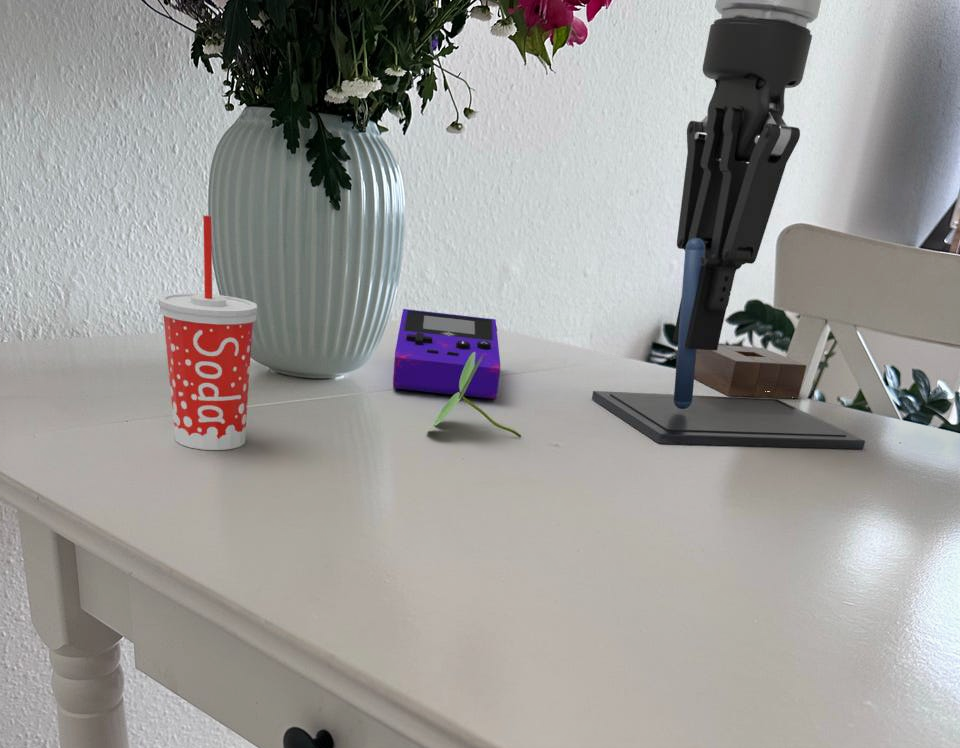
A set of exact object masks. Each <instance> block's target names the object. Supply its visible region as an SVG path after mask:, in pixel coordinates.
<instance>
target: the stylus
mask: <svg viewBox="0 0 960 748" xmlns="http://www.w3.org/2000/svg"><path fill="white" fill-rule="evenodd" d="M701 258H705V243H704V241H703V240H702V239H700V238H693V239H691V240H689V241H688V243H687V244H686V248H685V250H684V262H683V275H682V285H681V286H682V287H681V297H682V299H681V298H680V302H681V311H680V324H679V337H678V343H677V352H676V365H675V378H674V389H673V395H674V404H675V406H676V407H677V408H679V409H686V408H688V407H689V406H690V405H691V403H692V397H693V395H694V385H695V379H694V374H695V363H696V351H697V349H689V348H686V347H685V343H686V338H687V333H688V328H689V324H690V319H691V314H692V310H693V305H694V301H695V296H696V291H697V286H698V281H699V276H700V271H701V266H702V264H701Z"/></svg>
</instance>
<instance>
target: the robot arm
mask: <svg viewBox="0 0 960 748" xmlns="http://www.w3.org/2000/svg"><path fill="white" fill-rule="evenodd" d="M821 4H822V0H715V4H714V5H715V6H714V8H715V9H716V12H717V13H718V14H719V15H721V18H718V19H715V20H714V21H713V23H712V24H710V27H709V32H708V37H707V43H706V47H705V52H704V58H703V62H702V63H703V64H702V73H703V76H704V77H706V78H708V79H710V80H714V82H715V87H714V89H713V93H712V96H711V98H710V100H709V103H708V105H707V107H708V108H707V115H706V116H705V117H704V118H703V119H702V120H701V121H697V120H690V121H689V122H688V124H687V128H686V147H687V155H686V163H685V172H684V179H683V188H682V195H681V205H680V212H679V219H678V220H679V221H678V228H677V229H678V230H677V237H676V247H677V249H680V250H684V251H685V248H686V244H687V243H688V241H689V240H691V239H693V238H700V239H702V240H703V241H704V243H705V258H701V264H702V266H701V271H700V276H699V281H698V286H697V291H696V296H695V301H694V305H693V310H692V314H691V319H690V324H689V328H688V333H687V338H686V343H685V347H686V348H689V349H702V350H717V349H718V345H720V340H721V339H720V338H721V336H722V335H721V334H722V330H723V325H724V321H725V316H726V312H727V308H728V305H729V303H730V297H731V294H732V293H731V292H732V290H733V284H734V280H735V277H736V276H735V275H736V272H737V270H739V269H740V268H742V266H743V265H746V264H751V265H752V264H754V263H755V262H756V260H757V257H758V255H759V251H760V248H761V245H762V242H763V238H764V235H765V233H766V229H767V226H768V223H769V219H770V216H771V214H772V211H773V207H774V204H775V201H776V198H777V195H778V191H779V189H780V185H781V182H782V179H783V176H784V172H785V169H786V166H787V163H788V161H789V160H790V157H791V156H792V153H793V152H794V150H795V148H796V146H797V144H798V143H799V140H800V137H801V130H800V128H799V127H796V126H789V125H788V124H787V123H786V122H785V120H784V119H783V116H784V113H785V93H786V92H785V91H786V89H793V88H796V87H797V86H799V85H800V84H801V83H802V81H803V78H804V74H805V70H806V65H807V62H808V57H809V52H810V48H811V45H812V39H813V35H812V34H811V30H810V29H809V28H807V27H808V24H811V23H813V22H814V21H815V20H816V19H817V18H818V17H819V12H820V8H821ZM681 299H682V296H681V298H680V300H681ZM678 307H679V308H678V312H677V318H676V321H675V328H674V332H673V337H672V342H674V343H676V344H678V337H679V324H680V311H681V301H680V302H679V306H678Z"/></svg>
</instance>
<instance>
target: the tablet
mask: <svg viewBox="0 0 960 748" xmlns="http://www.w3.org/2000/svg"><path fill="white" fill-rule="evenodd" d="M591 400H592V401H593V402H595V403H596V404H598V405H600V406H602V407H603V408H605V409H606V410H608V411H609V412H610V413H612V414H614V415H615V416H616V417H618V418H620V419H621V420H623V421H624V422H625V423H627V424H628V425H630V426H631V427H633V428H634V429H636V430H637V431H639V432H641V433H642V434H644V435H645V436H646V437H648V438H650V439H651V440H653V441H654V442H656V443H657V444H659V445H691V446H693V445H695V446H728V447H729V446H730V447H731V446H732V447H733V446H734V447H763V448H765V447H767V448H768V447H769V448H800V449H801V448H802V449H838V450H839V449H840V450H863V449H864V448H865V444H866V440H865V439H863V438H861V437H859V436H856V435H854V434H852V433H851V432H848V431H846V430H844V429H842V428H839V427H838V426H835V425H833V424H831V423H829V422H827V421H825V420H823V419H820V418H818V417H816V416H814V415H813V414H810V413H807V412H805V411H803V410H801V409H799V408H797V407H795V406H793V405H790V404H789V403H787V402H784V401H782V400H781V399H779V398H762V397H740V396H717V395H716V396H714V395H695V394H693V397H692V403H691V405H690V406H689V407H688V408H686V409H679V408H677V407H676V406H675V404H674V393H673V394H672V393H671V394H669V393H650V392H649V393H648V392H646V393H645V392H627V391H607V390H606V391H605V390H604V391H603V390H602V391H601V390H592V397H591Z"/></svg>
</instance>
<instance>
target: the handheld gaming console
mask: <svg viewBox="0 0 960 748" xmlns="http://www.w3.org/2000/svg"><path fill="white" fill-rule="evenodd" d="M400 318H401V319H400V322H399V329H398V334H397V339H396V344H395V351H394V363H393V376H392V388H393V389H397V390H406V391H414V392H415V391H416V392H425V393H433V394H442V395H443V394H444V395H452V396H453V395H454V394H456V393H457V392H459V393H460V389H459V381H460V377H461V374H462V371H463V369H464V366H465V364H466V362H467V360H468V358H469V357H470V355H471V354H472V353H473V352H475V353H476V354H475V365H476V363H477V362H478V360H479V359H480V357H481V356H483V357H482V359H481V362H480V364H479V366H478V368H477V370H476V372H475V373H474V375H473V377H472V379H471V381H470V383H469V385H468V387H467V389H466V391H465V393H464V395H463V396H464V397H471V398H480V399H490V400H496V399H497V397H498V389H499V381H500V373H501V356H500V346H499V338H498V326H497V320H496V318H487V317H478V316H470V315H461V314H451V313H444V312H435V311H425V310H417V309H408V308H403V309H402V312H401V317H400ZM475 365H474V367H475Z"/></svg>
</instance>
